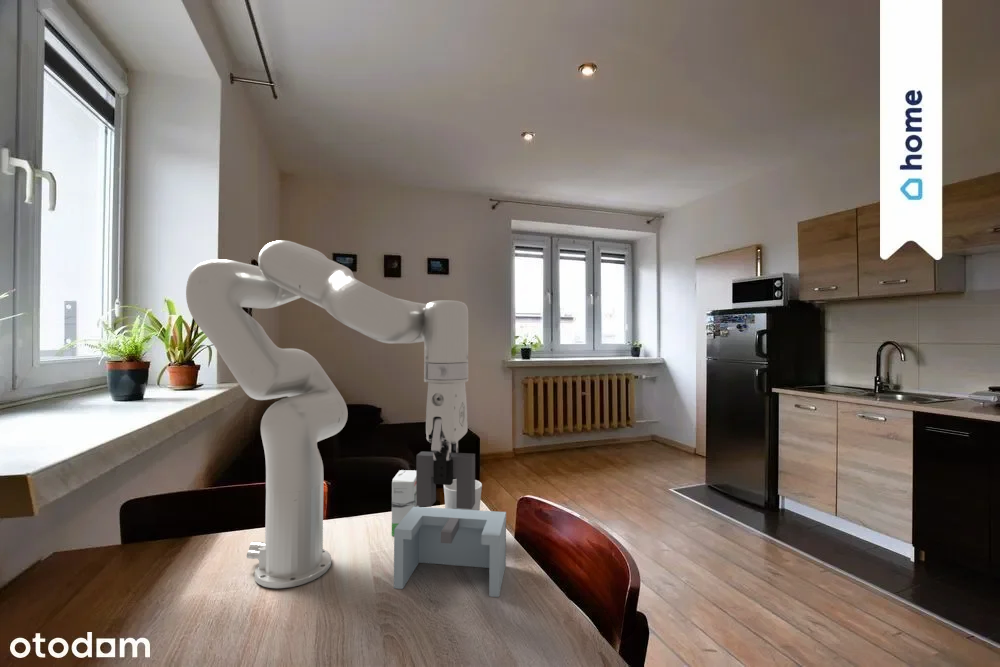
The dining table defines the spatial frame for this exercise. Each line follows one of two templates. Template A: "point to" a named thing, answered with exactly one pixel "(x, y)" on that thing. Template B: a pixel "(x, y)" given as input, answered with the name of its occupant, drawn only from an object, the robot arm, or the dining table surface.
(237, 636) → the dining table surface
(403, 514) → the ink box
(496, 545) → the shelf
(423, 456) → the grey arch block
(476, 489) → the cup
